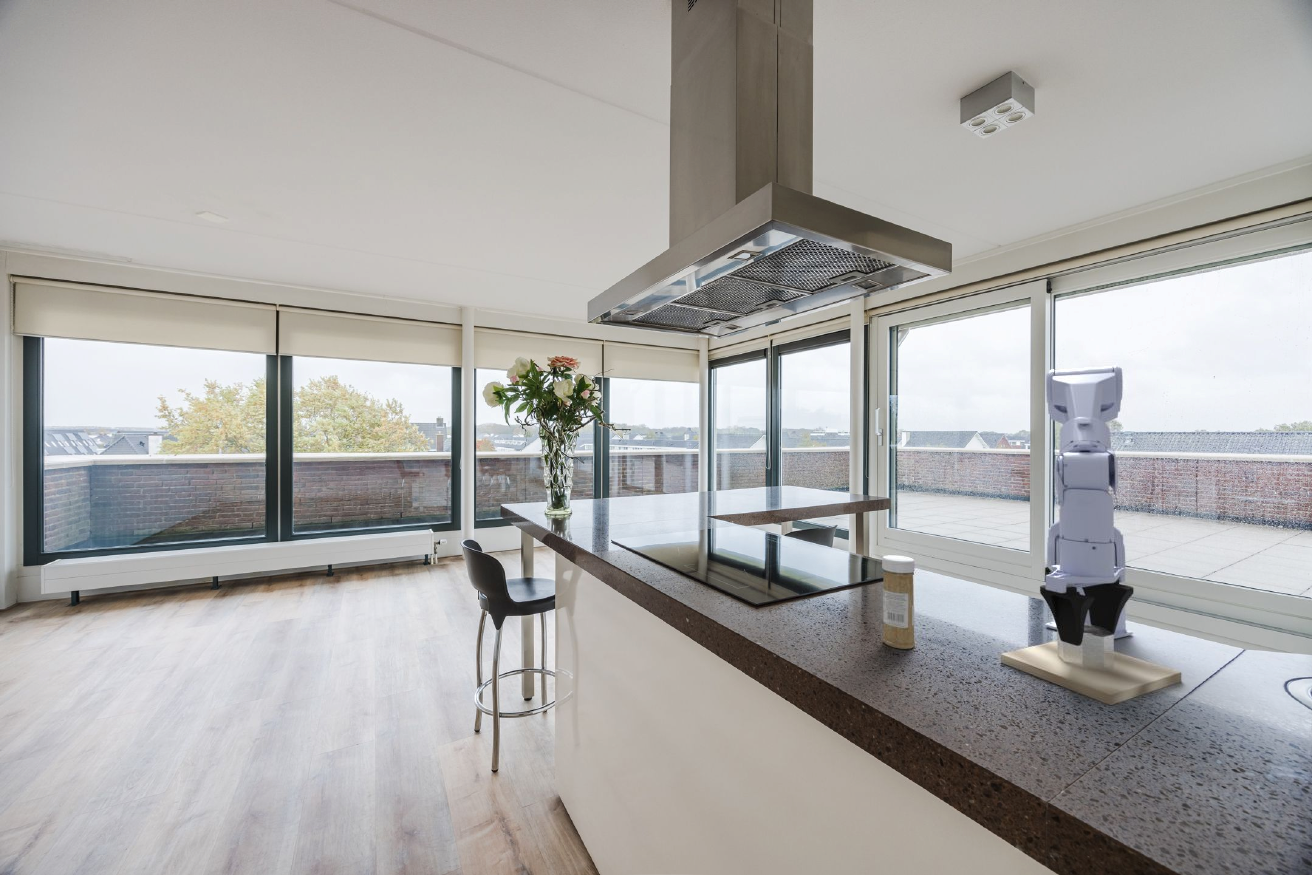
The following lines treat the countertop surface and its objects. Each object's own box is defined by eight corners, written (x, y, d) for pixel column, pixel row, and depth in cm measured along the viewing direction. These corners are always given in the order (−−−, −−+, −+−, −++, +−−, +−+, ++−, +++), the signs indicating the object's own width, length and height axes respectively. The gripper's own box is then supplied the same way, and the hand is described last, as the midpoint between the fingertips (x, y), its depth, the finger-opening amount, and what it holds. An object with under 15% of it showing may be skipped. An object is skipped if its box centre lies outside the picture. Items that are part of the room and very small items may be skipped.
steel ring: (1074, 651, 74) (1073, 619, 74) (1120, 666, 69) (1120, 632, 69) (1050, 657, 72) (1050, 625, 72) (1096, 673, 67) (1096, 638, 67)
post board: (1069, 645, 79) (1068, 608, 79) (1181, 681, 67) (1180, 637, 67) (1000, 662, 73) (1000, 622, 73) (1110, 705, 61) (1110, 656, 61)
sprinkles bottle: (921, 645, 79) (920, 558, 79) (904, 652, 76) (903, 562, 77) (893, 636, 83) (892, 553, 83) (876, 642, 80) (875, 556, 80)
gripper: (1084, 531, 77) (1084, 622, 77) (1021, 538, 71) (1022, 636, 71) (1143, 539, 70) (1144, 639, 70) (1079, 547, 65) (1080, 655, 65)
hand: (1087, 639), depth 70 cm, fingers open, 7 cm apart
